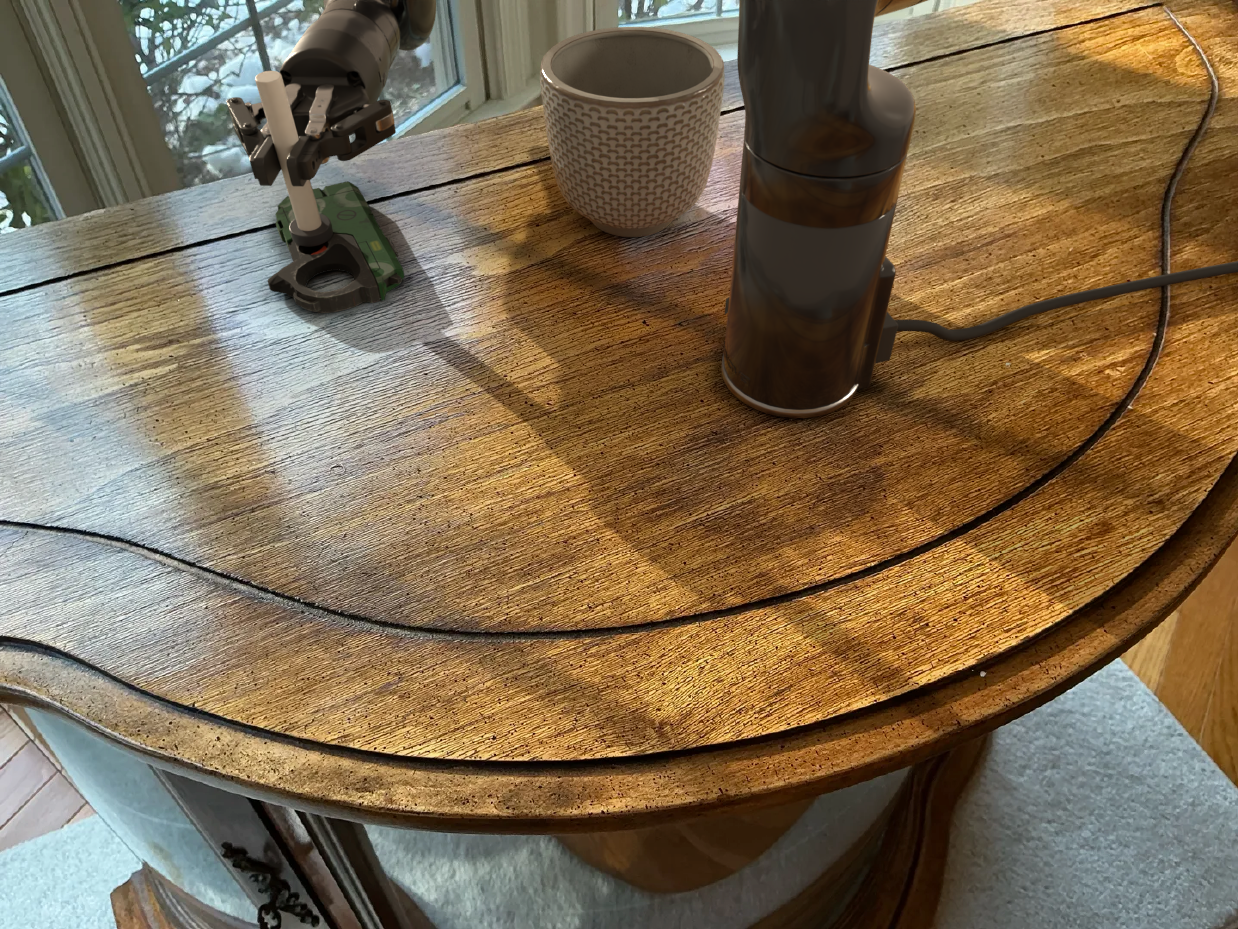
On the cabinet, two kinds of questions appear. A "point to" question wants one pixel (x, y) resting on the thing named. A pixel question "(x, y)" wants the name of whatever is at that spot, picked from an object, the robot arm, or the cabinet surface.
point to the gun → (339, 253)
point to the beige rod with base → (308, 221)
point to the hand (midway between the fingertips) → (278, 174)
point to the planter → (632, 124)
